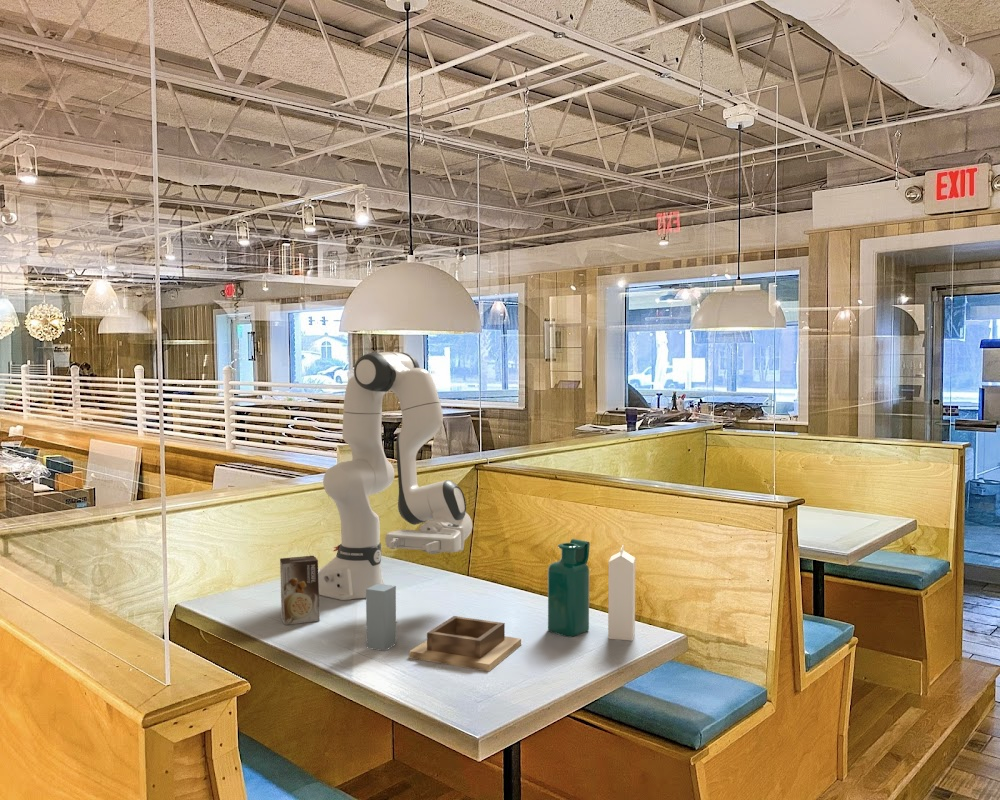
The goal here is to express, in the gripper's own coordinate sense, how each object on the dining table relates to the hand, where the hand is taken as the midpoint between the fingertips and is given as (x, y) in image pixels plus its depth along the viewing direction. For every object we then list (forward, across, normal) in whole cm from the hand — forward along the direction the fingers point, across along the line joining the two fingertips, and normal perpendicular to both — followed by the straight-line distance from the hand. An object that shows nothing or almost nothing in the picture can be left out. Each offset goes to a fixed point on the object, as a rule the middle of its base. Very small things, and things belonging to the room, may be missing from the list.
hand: (408, 547), depth 200 cm
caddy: (+7, +19, +22) cm, 30 cm away
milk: (-18, +49, +23) cm, 57 cm away
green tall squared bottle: (-17, +36, +22) cm, 46 cm away
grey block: (+12, -1, +21) cm, 24 cm away
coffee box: (+4, -31, +21) cm, 37 cm away
